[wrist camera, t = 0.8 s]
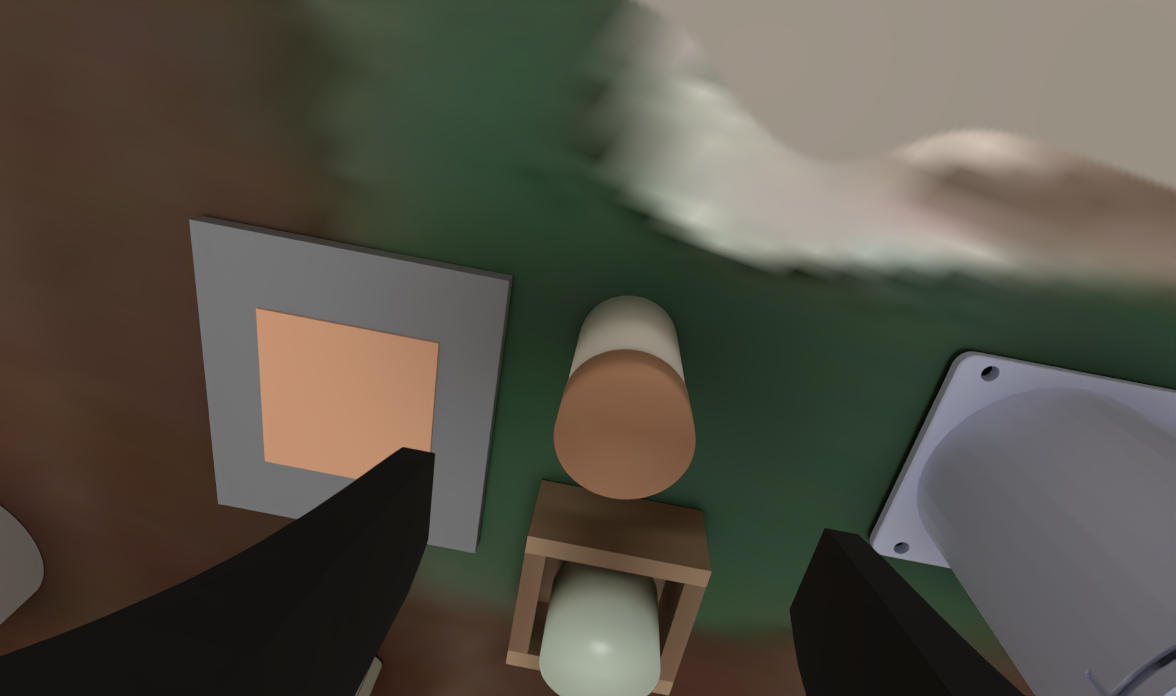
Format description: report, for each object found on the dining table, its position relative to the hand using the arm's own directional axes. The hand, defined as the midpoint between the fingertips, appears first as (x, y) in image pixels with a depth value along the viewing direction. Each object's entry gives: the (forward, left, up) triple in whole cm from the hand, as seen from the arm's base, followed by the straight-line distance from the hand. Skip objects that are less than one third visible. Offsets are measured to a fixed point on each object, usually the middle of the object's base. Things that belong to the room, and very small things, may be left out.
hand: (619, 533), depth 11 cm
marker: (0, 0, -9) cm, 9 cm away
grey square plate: (+9, +4, -9) cm, 13 cm away
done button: (-1, +9, -7) cm, 12 cm away
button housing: (-1, +9, -9) cm, 13 cm away
